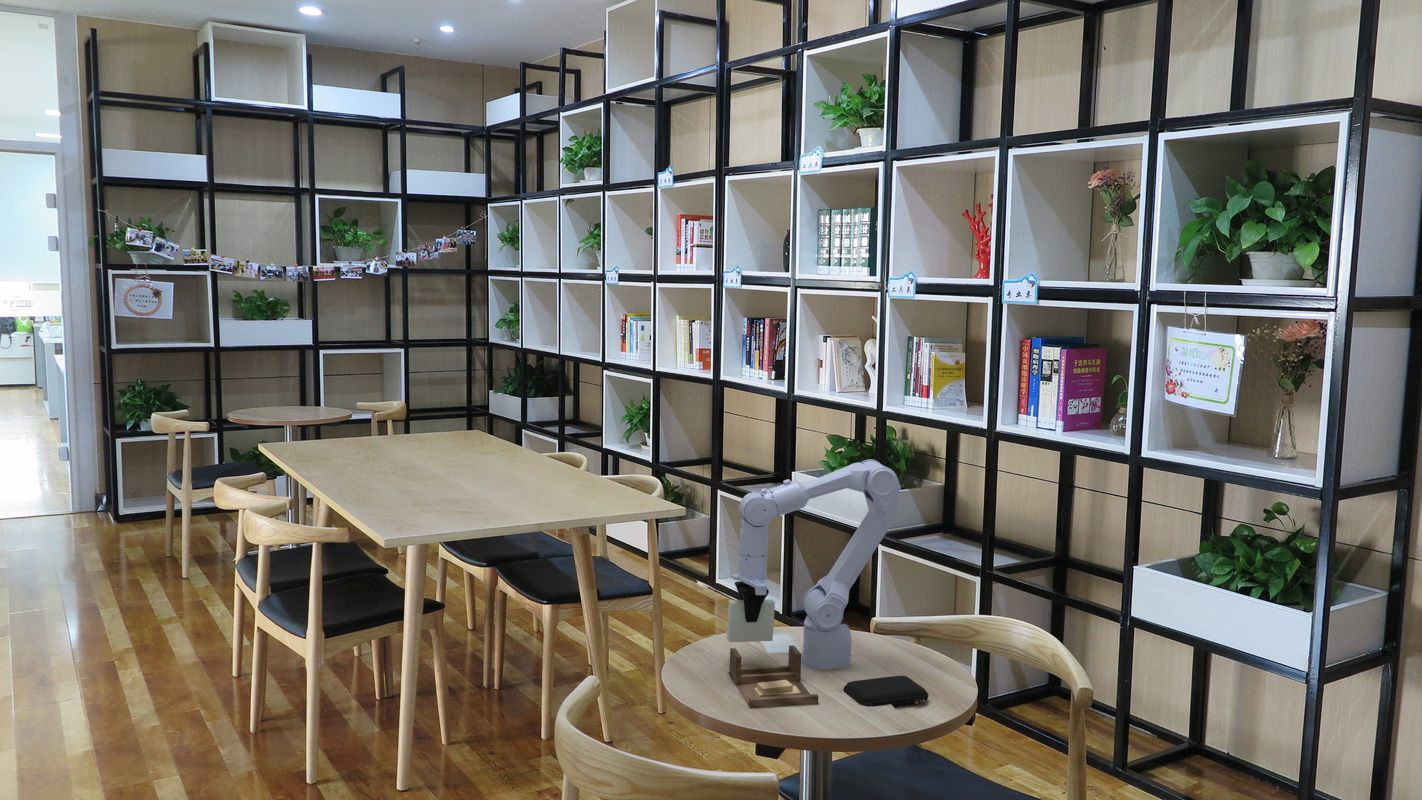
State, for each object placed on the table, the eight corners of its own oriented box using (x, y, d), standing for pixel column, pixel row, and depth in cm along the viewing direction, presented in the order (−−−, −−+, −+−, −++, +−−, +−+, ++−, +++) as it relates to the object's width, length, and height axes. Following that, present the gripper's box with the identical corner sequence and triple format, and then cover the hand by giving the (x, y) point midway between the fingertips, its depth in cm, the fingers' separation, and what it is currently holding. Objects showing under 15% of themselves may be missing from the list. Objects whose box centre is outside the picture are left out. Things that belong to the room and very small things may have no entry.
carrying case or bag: (865, 717, 195) (935, 707, 200) (866, 701, 195) (936, 692, 200) (839, 694, 205) (906, 686, 210) (839, 679, 205) (907, 671, 210)
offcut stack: (795, 691, 203) (795, 679, 202) (801, 699, 199) (801, 686, 199) (754, 693, 201) (754, 681, 201) (759, 701, 197) (760, 689, 197)
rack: (789, 673, 215) (791, 641, 214) (818, 709, 197) (819, 675, 196) (726, 676, 212) (727, 644, 211) (749, 713, 194) (751, 679, 194)
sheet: (769, 637, 217) (772, 599, 216) (772, 641, 215) (774, 602, 214) (726, 638, 215) (728, 600, 214) (729, 642, 213) (731, 603, 212)
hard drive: (805, 652, 224) (790, 632, 236) (767, 653, 222) (754, 633, 235) (804, 659, 224) (790, 639, 236) (766, 660, 223) (753, 640, 235)
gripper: (725, 544, 219) (722, 608, 221) (742, 563, 205) (739, 632, 207) (758, 544, 221) (755, 608, 222) (778, 563, 207) (774, 631, 208)
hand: (749, 619), depth 215 cm, fingers closed on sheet, 2 cm apart
